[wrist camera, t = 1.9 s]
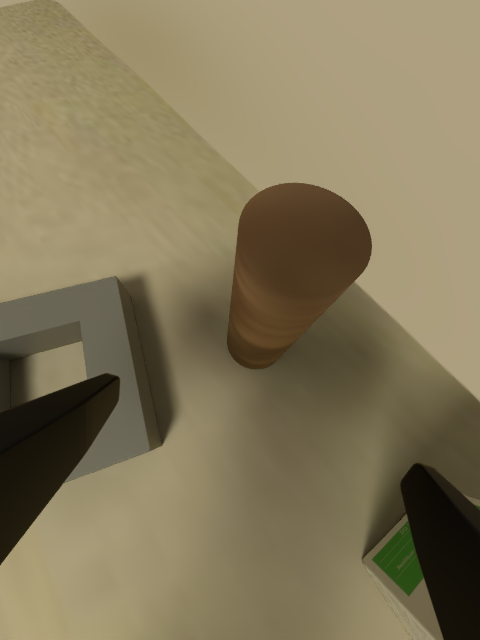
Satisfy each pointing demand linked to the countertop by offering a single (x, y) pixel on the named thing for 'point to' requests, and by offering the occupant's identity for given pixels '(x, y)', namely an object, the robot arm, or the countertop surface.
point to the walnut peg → (290, 267)
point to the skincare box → (404, 580)
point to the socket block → (88, 359)
